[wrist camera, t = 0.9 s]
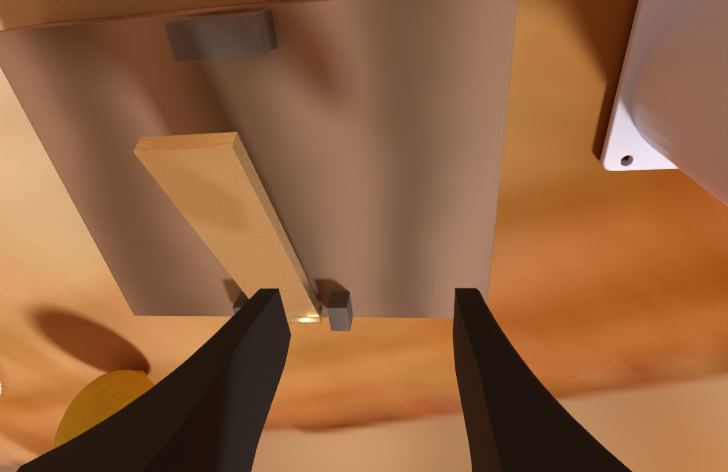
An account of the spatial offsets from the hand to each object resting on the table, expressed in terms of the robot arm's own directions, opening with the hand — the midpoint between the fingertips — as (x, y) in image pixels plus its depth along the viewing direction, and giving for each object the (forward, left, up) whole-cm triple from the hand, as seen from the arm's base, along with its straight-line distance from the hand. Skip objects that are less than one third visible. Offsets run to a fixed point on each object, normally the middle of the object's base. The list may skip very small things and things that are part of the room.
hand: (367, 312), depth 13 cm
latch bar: (+5, 0, -4) cm, 7 cm away
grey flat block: (+5, -1, -10) cm, 11 cm away
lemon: (+20, +16, -10) cm, 28 cm away
